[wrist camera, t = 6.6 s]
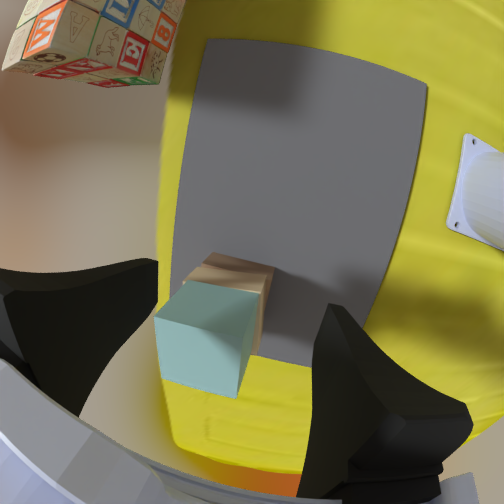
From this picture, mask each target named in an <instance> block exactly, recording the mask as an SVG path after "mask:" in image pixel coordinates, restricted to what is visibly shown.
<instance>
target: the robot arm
mask: <svg viewBox="0 0 504 504" xmlns="http://www.w3.org/2000/svg"><path fill="white" fill-rule="evenodd" d="M472 140H474V145H473V143H472ZM456 222H457V226H456V227H455V223H456ZM446 226H447V227H448V228H449V229H451V230H454V231H456V232H459V233H461V234H464V235H466V236H469V237H471V238H474V239H476V240H479V241H481V242H484V243H486V244H488V245H491V246H493V247H495V248H497V249H500V250H502V251H504V153H502V152H499V151H498V150H496V149H495V148H493V147H491V146H490V145H488V144H487V143H485V142H483V141H482V140H480V139H478V138H477V137H475V136H473V135H471V134H469V133H468V134H465V135H464V137H463V145H462V152H461V158H460V164H459V169H458V175H457V179H456V184H455V189H454V193H453V197H452V201H451V205H450V209H449V213H448V217H447V220H446ZM157 302H158V261H156V260H152V259H148V258H140V259H135V260H129V261H125V262H120V263H115V264H111V265H107V266H101V267H96V268H92V269H86V270H80V271H71V272H60V273H31V272H20V271H13V270H6V269H1V268H0V504H479V500H478V495H477V490H476V486H475V482H474V477H473V473H471V472H469V473H466V474H462V475H459V476H455V477H451V478H448V479H446V480H443V481H441V482H439V477H438V475H439V474H441V473H442V472H443V465H442V462H443V461H444V460H445V459H446V458H448V457H449V456H450V455H451V454H452V453H453V452H454V451H455V450H457V449H458V448H459V447H460V446H461V445H462V444H463V443H464V442H465V441H466V439H467V438H468V436H469V435H470V433H471V431H472V429H473V425H474V424H473V421H472V419H471V416H470V414H469V411H468V409H467V406H466V404H465V403H463V402H461V401H459V400H456V399H454V398H452V397H449V396H447V395H445V394H443V393H441V392H439V391H437V390H435V389H433V388H431V387H430V386H428V385H426V384H425V383H423V382H421V381H420V380H418V379H417V378H415V377H414V376H412V375H411V374H410V373H408V372H407V371H405V370H404V369H403V368H401V367H400V366H399V365H398V364H397V363H395V362H394V361H393V360H392V359H391V358H390V357H389V356H387V355H386V354H385V353H384V352H383V351H382V350H381V349H380V348H379V347H378V346H377V345H376V344H375V343H374V342H373V341H372V339H371V338H370V337H369V336H368V335H367V334H366V333H365V331H364V330H363V329H362V328H361V327H360V325H359V324H358V323H357V322H356V321H355V319H354V318H353V317H352V316H351V314H350V313H349V312H348V311H347V310H346V309H345V308H344V307H343V306H341V305H336V304H331V303H328V305H327V308H326V311H325V314H324V317H323V320H322V322H321V325H320V328H319V331H318V333H317V336H316V339H315V341H314V346H313V355H312V420H311V427H310V434H309V441H308V447H307V452H306V458H305V462H304V467H303V471H302V476H301V480H300V484H299V488H298V491H297V495H296V497H287V496H279V495H272V494H266V493H260V492H255V491H249V490H245V489H240V488H236V487H231V486H227V485H223V484H220V483H216V482H212V481H209V480H205V479H202V478H199V477H196V476H193V475H189V474H187V473H184V472H181V471H178V470H175V469H173V468H170V467H167V466H165V465H163V464H160V463H158V462H155V461H153V460H151V459H148V458H146V457H144V456H142V455H140V454H138V453H136V452H133V451H131V450H129V449H127V448H125V447H124V446H122V445H120V444H119V443H117V442H116V441H114V440H112V439H111V438H109V437H108V436H106V435H105V434H103V433H102V432H100V431H99V430H97V429H96V428H94V427H92V426H90V425H89V424H87V423H86V422H84V421H83V420H81V419H80V418H79V415H80V413H81V411H82V408H83V406H84V404H85V402H86V400H87V398H88V396H89V394H90V392H91V391H92V388H93V387H94V385H95V383H96V382H97V380H98V379H99V377H100V375H101V373H102V372H103V370H104V369H105V367H106V366H107V364H108V363H109V361H110V360H111V359H112V357H113V356H114V354H115V353H116V352H117V351H118V350H119V348H120V347H121V346H122V345H123V344H124V343H125V342H126V341H127V339H129V337H130V336H131V335H132V334H133V333H134V332H135V331H136V330H137V329H138V328H139V327H140V325H141V324H142V323H143V322H144V321H145V320H146V318H147V317H148V316H149V315H150V313H151V312H152V310H153V308H154V307H155V305H156V304H157Z"/></svg>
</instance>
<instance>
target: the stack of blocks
mask: <svg viewBox="0 0 504 504" xmlns="http://www.w3.org/2000/svg"><path fill="white" fill-rule="evenodd" d="M185 2H186V0H28V3H27V4H26V7H25V9H24V11H23V13H22V16H21V18H20V20H19V22H18V25H17V28H16V31H15V32H14V34H13V36H12V39H11V42H10V45H9V47H8V50H7V53H6V57H5V60H4V63H3V66H2V71H9V72H22V73H33V75H34V76H40V77H50V78H56V79H66V80H73V81H78V82H85V83H88V84H93V85H97V86H101V87H106V88H110V87H121V86H130V85H154V84H156V85H157V84H159V83H160V79H161V75H162V71H163V68H164V64H165V61H166V57H167V53H168V52H169V49H170V46H171V43H172V40H173V36H174V33H175V30H176V27H177V23H178V21H179V18H180V16H181V13H182V10H183V7H184V4H185Z"/></svg>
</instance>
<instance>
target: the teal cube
mask: <svg viewBox="0 0 504 504" xmlns="http://www.w3.org/2000/svg"><path fill="white" fill-rule="evenodd" d="M258 298H259V293H255V292H249V291H244V290H238V289H233V288H228V287H222V286H217V285H212V284H207V283H202V282H197V281H192V280H187V281H186V283H185V284H184V285H183V286H182V287H181V288H180V289H179V290H178V291H177V292H176V293H175V294H174V295H173V296H172V297H171V298H170V299H169V301H168V302H167V303H166V304H165V305H164V306H163V307H162V308H161V309H160V310H159V311H158V312H157V313H156V315H155V316H154V323H155V333H156V341H157V349H158V356H159V364H160V370H161V377H162V378H163V379H166V380H169V381H172V382H175V383H178V384H182V385H185V386H188V387H192V388H195V389H199V390H202V391H206V392H210V393H214V394H218V395H222V396H226V397H231V398H235V399H236V398H237V395H238V392H239V389H240V386H241V382H242V379H243V376H244V373H245V370H246V367H247V363H248V360H249V357H250V354H251V350H252V343H253V336H254V328H255V321H256V313H257V306H258Z"/></svg>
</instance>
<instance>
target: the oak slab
mask: <svg viewBox="0 0 504 504" xmlns="http://www.w3.org/2000/svg"><path fill="white" fill-rule="evenodd" d="M187 280H192V281H197V282H202V283H207V284H212V285H217V286H222V287H228V288H233V289H238V290H244V291H249V292H255V293H259V298H258V306H257V313H256V321H255V328H254V336H253V343H252V350H251V354H250V355H256V356H257V353H258V349H259V346H260V342H261V338H262V333H263V321H264V308H265V294H266V281H267V275H262V274H253V273H244V272H236V271H227V270H219V269H211V268H203V267H196V268H195V269H194V270H193V271H192V272H191V273H190V274H189V275H188V276H187V277H186V278H185V279H184V280H183V285H184V284H185V283H186V281H187Z"/></svg>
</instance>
